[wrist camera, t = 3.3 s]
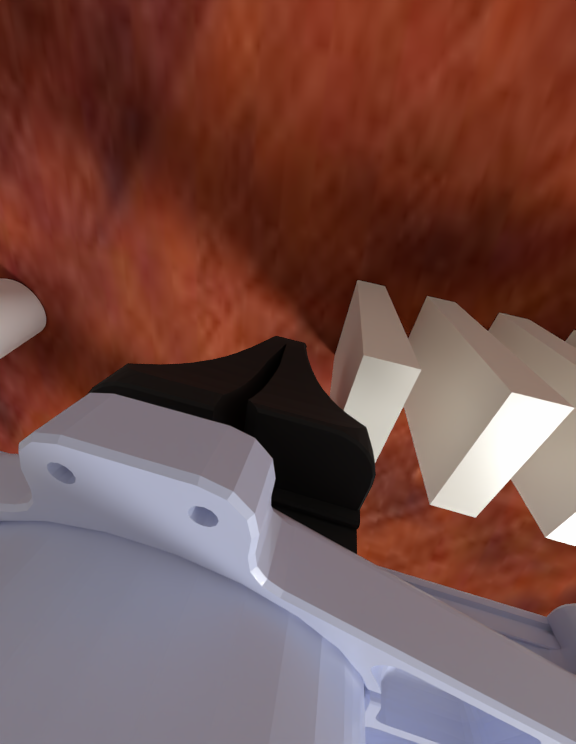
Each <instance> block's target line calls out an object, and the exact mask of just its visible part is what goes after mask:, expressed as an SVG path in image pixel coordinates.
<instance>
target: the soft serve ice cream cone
mask: <svg viewBox="0 0 576 744" xmlns="http://www.w3.org/2000/svg"><path fill="white" fill-rule="evenodd" d="M45 325H46V314H45V311H44V308H43V306H42V304H41V303H40V301H39V300H38V298H37V297H36V296H35V295H34V293H33V292H32V291H30V290H29V289H28V288H27V287H26V286H24V285H23V284H21V283H19V282H17V281H14V280H11V279H0V359H1V358H2V357H4V356H5V355H7V354H8V353H10V352H11V351H13V350H14V349H16V348H17V347H19V346H20V345H22V344H23V343H25V342H26V341H28V340H29V339H31V338H32V337H34V336H35V335H37V334H38V333H40V332H41V331H42V330H43V329H44V327H45Z"/></svg>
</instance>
